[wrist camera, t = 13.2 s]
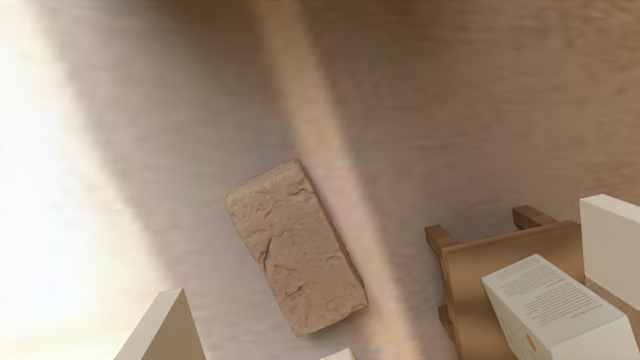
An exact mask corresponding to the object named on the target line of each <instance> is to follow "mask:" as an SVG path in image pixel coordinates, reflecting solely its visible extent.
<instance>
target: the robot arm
mask: <svg viewBox="0 0 640 360" xmlns="http://www.w3.org/2000/svg"><path fill="white" fill-rule="evenodd" d="M579 200H580V213H581V227H582V241H583V254H584V268H585V276H586V277H588V278H589V279H591V280H592V281H594V282H595V283H597V284H598V285H600V286H602V287H603V288H605V289H606V290H608V291H609V292H611V293H612V294H614V295H615V296H617V297H618V298H620V299H621V300H623V301H624V302H626V303H628V304H629V305H631V306H632V307H634V308H635V309H637V310H638V311H640V207H639V206H636V205H633V204H630V203H627V202H624V201H621V200H619V199H616V198H613V197H610V196H607V195H604V194H600V195H596V196H591V197H587V198H582V199H579ZM114 360H206V358H205V355H204V351H203V348H202V345H201V342H200V339H199V336H198V333H197V330H196V326H195V323H194V320H193V317H192V314H191V311H190V308H189V305H188V301H187V298H186V295H185V292H184V289H183V287H182V288H178V289H173V290H169V291H164V292H160V293H159V294H158V296H157V297H156V299H155V300H154V302H153V303H152V305H151V306H150V308H149V309H148V311H147V312H146V313H145V315H144V316H143V318H142V319H141V321H140V322H139V324H138V325H137V327H136V328H135V330H134V331H133V333H132V334H131V335H130V337H129V338H128V340H127V341H126V343H125V344H124V346H123V347H122V349H121V350H120V352H119V353H118V354H117V356H116V357H115V359H114Z"/></svg>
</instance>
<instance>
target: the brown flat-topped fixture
mask: <svg viewBox="0 0 640 360" xmlns="http://www.w3.org/2000/svg"><path fill="white" fill-rule="evenodd" d="M513 217H514V222H515V223H516V224H518V225H519V226H521V227H523V228H524V229H526V230H522V231H517V232H513V233H508V234H504V235H499V236H495V237H490V238H486V239H481V240H477V241H472V242H468V243H463V244H459V243H458V242H457V241H456V240H455V239H454V238H453V237H452V236H451V235H450V234H449V233H448V232H447V231H445V230H444V229H443V228H442V227H441V226H440V225H435V226H431V227H426V228H425V232H426V238H427V242H428V243H429V245H430V246H431V247H432V248H433V249H434V251H435V252H436V253H437V254H438V255H439V258H440V264H441V271H442V277H443V283H444V289H445V296H446V302H447V305H446V306H441V307H438V311H439V317H440V321H441V322H442V324H443V325H444V327H445V329H446V330H447V332H448V334H449V335H450V337H451V339H452V340H453V342H454V343H455V345H456V347H457V351H458V357H459V360H518V358H517V356H516V355H515V354H514V353H513V351H512V350H511V349H510V347H509V345H508V342H507V340H506V337H505V335H504V332H503V330H502V328H501V326H500V323H499V321H498V318H497V316H496V313H495V311H494V309H493V306H492V304H491V302H490V299H489V297H488V295H487V292H486V290H485V287H484V285H483V283H482V281H481V278H482V277H485V276H487V275H489V274H491V273H494V272H496V271H498V270H500V269H503V268H505V267H507V266H509V265H512V264H514V263H516V262H518V261H521V260H523V259H525V258H527V257H530V256H532V255H534V254H538V255H540V256H541V257H543V258H544V259H546V260H547V261H549V262H550V263H552V264H553V265H554V266H556V267H557V268H559V269H560V270H562V271H563V272H565V273H566V274H568V275H569V276H571V277H572V278H573V279H575V280H576V281H578V282H579V283H581V284H582V285H584V286H585V273H584V259H583V245H582V232H581V225H580V224H578V223H575V222H573V221H571V220H567V221H562V222H559V221H557V220H555V219H554V218H552V217H550V216H548V215H546V214H544V213H542V212H540V211H538V210H536V209H534V208H532V207H530V206H528V205H525V206H521V207H516V208H513ZM585 287H586V286H585Z"/></svg>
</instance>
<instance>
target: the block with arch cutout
mask: <svg viewBox="0 0 640 360" xmlns="http://www.w3.org/2000/svg"><path fill="white" fill-rule="evenodd" d="M321 360H356V359H355V357H354V355H353V353H352V351H351V349H349V348H347V349H345V350H342V351H340V352H337V353H335V354H333V355H330V356H328V357H325V358H323V359H321Z"/></svg>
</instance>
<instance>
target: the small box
mask: <svg viewBox="0 0 640 360" xmlns="http://www.w3.org/2000/svg"><path fill="white" fill-rule="evenodd" d="M481 281H482V283H483V285H484V287H485V290H486V292H487V295H488V297H489V299H490V302H491V304H492V306H493V309H494V311H495V313H496V316H497V318H498V321H499V323H500V326H501V328H502V330H503V332H504V335H505V337H506V340H507V342H508V345H509V347H510V349H511V350H512V351H513V353H514V354H515V355H516V356H517V358H518V359H519V360H640V351H639V348H638V346H637V343H636V339H635V337H634V334H633V330H632V327H631V325H630V322H629V318H628V316H627V315H626V314H625V313H623V312H622V311H620V310H619V309H617V308H616V307H615V306H613V305H612V304H610V303H609V302H607V301H606V300H604V299H603V298H601V297H600V296H598V295H597V294H595V293H594V292H593V291H591V290H590V289H588V288H587V287H585V286H584V285H582V284H581V283H579V282H578V281H576V280H575V279H573V278H572V277H571V276H569V275H568V274H566V273H565V272H563V271H562V270H560V269H559V268H557V267H556V266H554V265H553V264H552V263H550V262H549V261H547V260H546V259H544V258H543V257H541V256H540V255H538V254H534V255H532V256H530V257H527V258H525V259H523V260H521V261H518V262H516V263H514V264H512V265H509V266H507V267H505V268H503V269H500V270H498V271H496V272H494V273H491V274H489V275H487V276H485V277H482V278H481Z"/></svg>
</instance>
